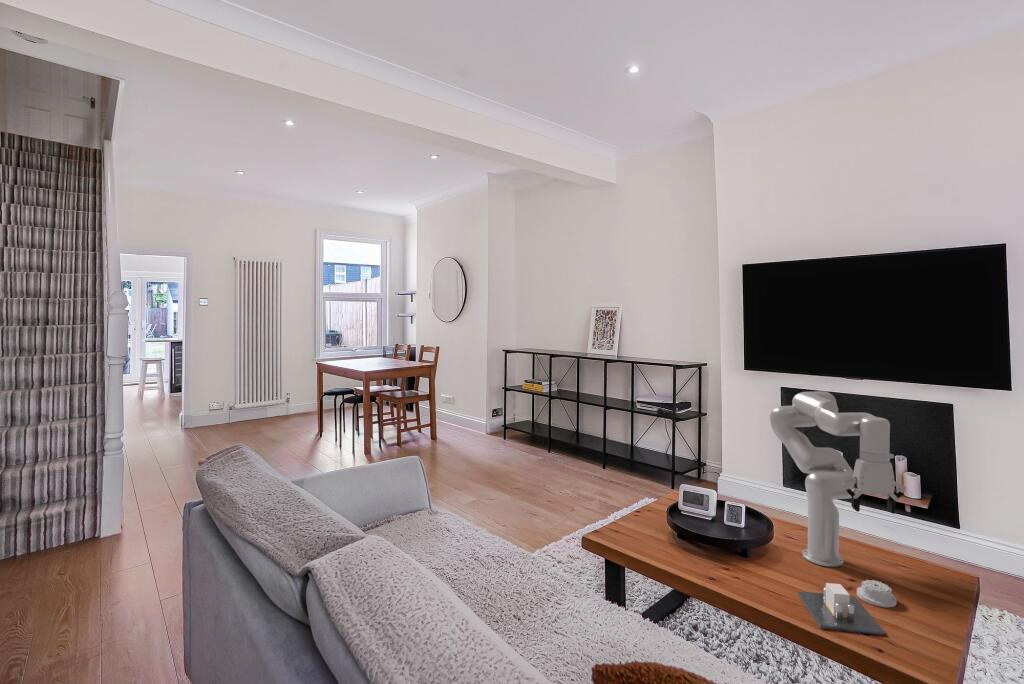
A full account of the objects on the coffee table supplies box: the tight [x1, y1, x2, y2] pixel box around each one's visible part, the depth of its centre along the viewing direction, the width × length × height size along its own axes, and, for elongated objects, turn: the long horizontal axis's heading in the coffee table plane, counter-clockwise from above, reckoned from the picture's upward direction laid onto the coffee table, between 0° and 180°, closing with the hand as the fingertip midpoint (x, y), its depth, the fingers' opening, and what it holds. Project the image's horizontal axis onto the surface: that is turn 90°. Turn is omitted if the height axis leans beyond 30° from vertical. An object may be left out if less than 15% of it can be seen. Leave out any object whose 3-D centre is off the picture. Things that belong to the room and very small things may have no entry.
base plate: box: [797, 586, 886, 636], centre depth 147 cm, size 18×16×5 cm
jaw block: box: [825, 582, 851, 615], centre depth 147 cm, size 6×4×6 cm, turn 168°
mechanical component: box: [856, 579, 898, 608], centre depth 155 cm, size 10×4×10 cm
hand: (873, 511), depth 157 cm, fingers open, 9 cm apart
